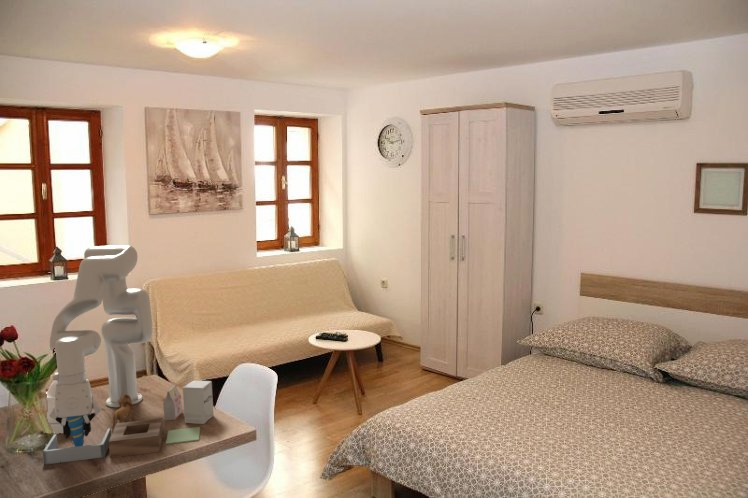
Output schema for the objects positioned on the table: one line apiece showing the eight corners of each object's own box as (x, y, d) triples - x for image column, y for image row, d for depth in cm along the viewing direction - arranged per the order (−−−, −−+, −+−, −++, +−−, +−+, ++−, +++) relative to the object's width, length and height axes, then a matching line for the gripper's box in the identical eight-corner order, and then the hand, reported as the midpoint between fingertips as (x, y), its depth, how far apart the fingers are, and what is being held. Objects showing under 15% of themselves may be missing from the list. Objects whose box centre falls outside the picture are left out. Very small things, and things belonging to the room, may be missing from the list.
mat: (168, 431, 205) (168, 430, 205) (200, 427, 207) (200, 426, 207) (165, 444, 195) (165, 443, 195) (198, 440, 198) (198, 439, 197)
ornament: (69, 456, 189) (64, 409, 187) (70, 450, 193) (65, 403, 191) (88, 453, 191) (83, 406, 189) (88, 446, 195) (84, 400, 193)
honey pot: (44, 422, 216) (38, 371, 213) (84, 416, 220) (80, 366, 218) (38, 437, 204) (33, 383, 201) (82, 430, 208) (77, 377, 206)
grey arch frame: (55, 446, 196) (53, 434, 195) (111, 440, 200) (110, 428, 199) (44, 464, 184) (42, 451, 184) (104, 457, 188) (103, 444, 187)
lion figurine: (119, 418, 218) (117, 393, 216) (135, 416, 219) (133, 391, 217) (110, 435, 203) (107, 408, 202) (127, 433, 204) (125, 407, 203)
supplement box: (204, 424, 210) (202, 388, 208) (184, 423, 211) (181, 387, 210) (214, 415, 217) (212, 380, 215) (194, 414, 219) (192, 379, 217)
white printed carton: (164, 419, 215) (162, 391, 214) (172, 412, 222) (170, 385, 220) (175, 419, 215) (173, 391, 213) (182, 412, 221) (180, 384, 220)
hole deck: (117, 438, 201) (116, 423, 200) (163, 432, 204) (162, 418, 203) (110, 457, 187) (108, 441, 187) (159, 451, 191) (158, 435, 190)
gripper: (38, 385, 183) (44, 444, 186) (100, 379, 187) (105, 437, 190) (45, 376, 191) (50, 433, 193) (104, 371, 194) (109, 427, 197)
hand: (77, 434), depth 191 cm, fingers closed on ornament, 4 cm apart
